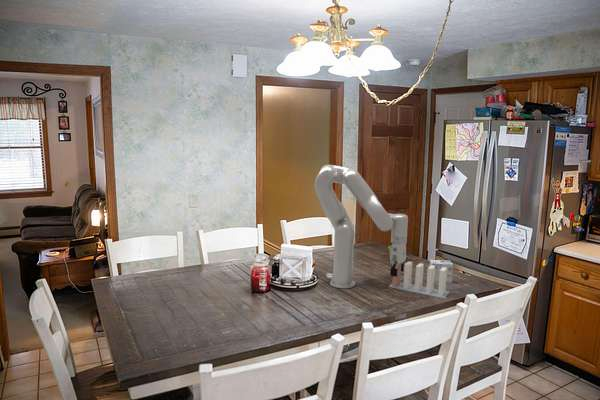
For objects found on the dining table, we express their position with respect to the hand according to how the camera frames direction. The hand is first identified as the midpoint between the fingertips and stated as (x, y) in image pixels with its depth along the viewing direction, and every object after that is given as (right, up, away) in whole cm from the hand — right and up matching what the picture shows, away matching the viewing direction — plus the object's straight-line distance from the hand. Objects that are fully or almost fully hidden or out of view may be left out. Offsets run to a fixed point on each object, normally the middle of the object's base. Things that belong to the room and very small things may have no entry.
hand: (396, 273), depth 221 cm
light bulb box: (+24, -6, +10) cm, 27 cm away
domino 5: (+19, -8, -10) cm, 23 cm away
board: (+9, -8, -4) cm, 13 cm away
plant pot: (+9, 0, +44) cm, 45 cm away
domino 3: (+9, -7, -5) cm, 12 cm away
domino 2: (+5, -6, -2) cm, 8 cm away
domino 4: (+14, -7, -7) cm, 17 cm away
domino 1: (0, -6, +1) cm, 6 cm away
